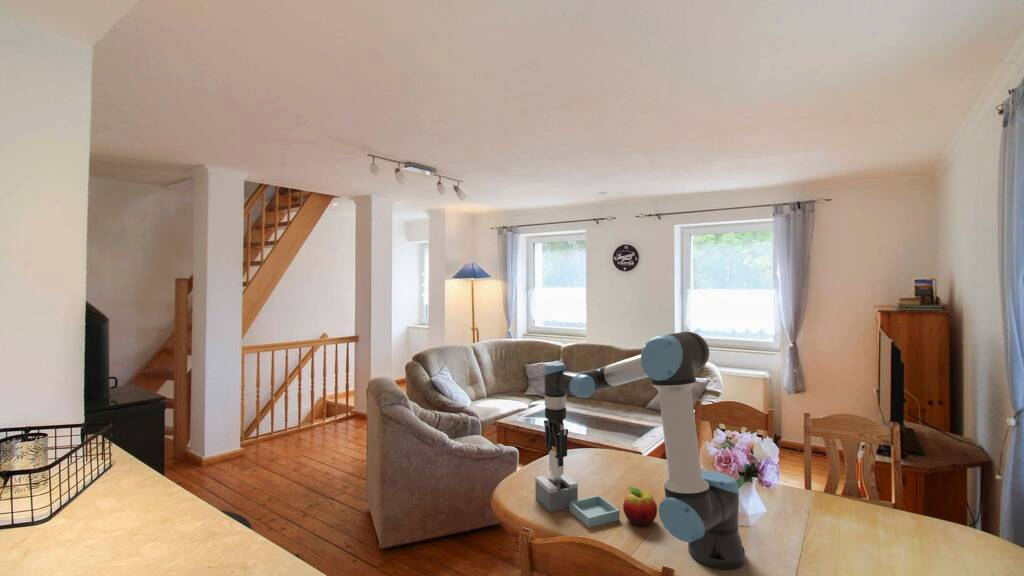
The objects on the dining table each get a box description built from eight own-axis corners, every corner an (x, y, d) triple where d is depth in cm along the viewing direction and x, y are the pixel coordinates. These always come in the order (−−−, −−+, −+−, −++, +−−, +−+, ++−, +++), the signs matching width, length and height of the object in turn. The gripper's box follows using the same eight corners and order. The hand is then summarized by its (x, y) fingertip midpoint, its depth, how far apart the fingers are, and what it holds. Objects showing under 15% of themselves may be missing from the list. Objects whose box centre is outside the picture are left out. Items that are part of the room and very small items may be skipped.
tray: (619, 519, 158) (619, 510, 158) (588, 527, 154) (588, 518, 154) (599, 504, 169) (598, 495, 169) (569, 511, 165) (569, 501, 165)
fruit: (637, 533, 150) (637, 501, 150) (616, 517, 160) (616, 487, 160) (664, 525, 155) (664, 494, 155) (641, 510, 165) (641, 481, 164)
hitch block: (577, 505, 168) (577, 483, 168) (549, 512, 164) (549, 489, 164) (562, 492, 178) (561, 471, 178) (535, 498, 174) (535, 476, 174)
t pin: (566, 500, 169) (566, 449, 168) (556, 502, 167) (556, 451, 166) (556, 492, 175) (555, 442, 175) (546, 494, 173) (546, 444, 173)
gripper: (577, 411, 164) (578, 479, 164) (553, 399, 179) (553, 461, 180) (558, 414, 161) (558, 483, 161) (535, 402, 176) (535, 465, 177)
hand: (556, 472), depth 171 cm, fingers closed on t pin, 4 cm apart
